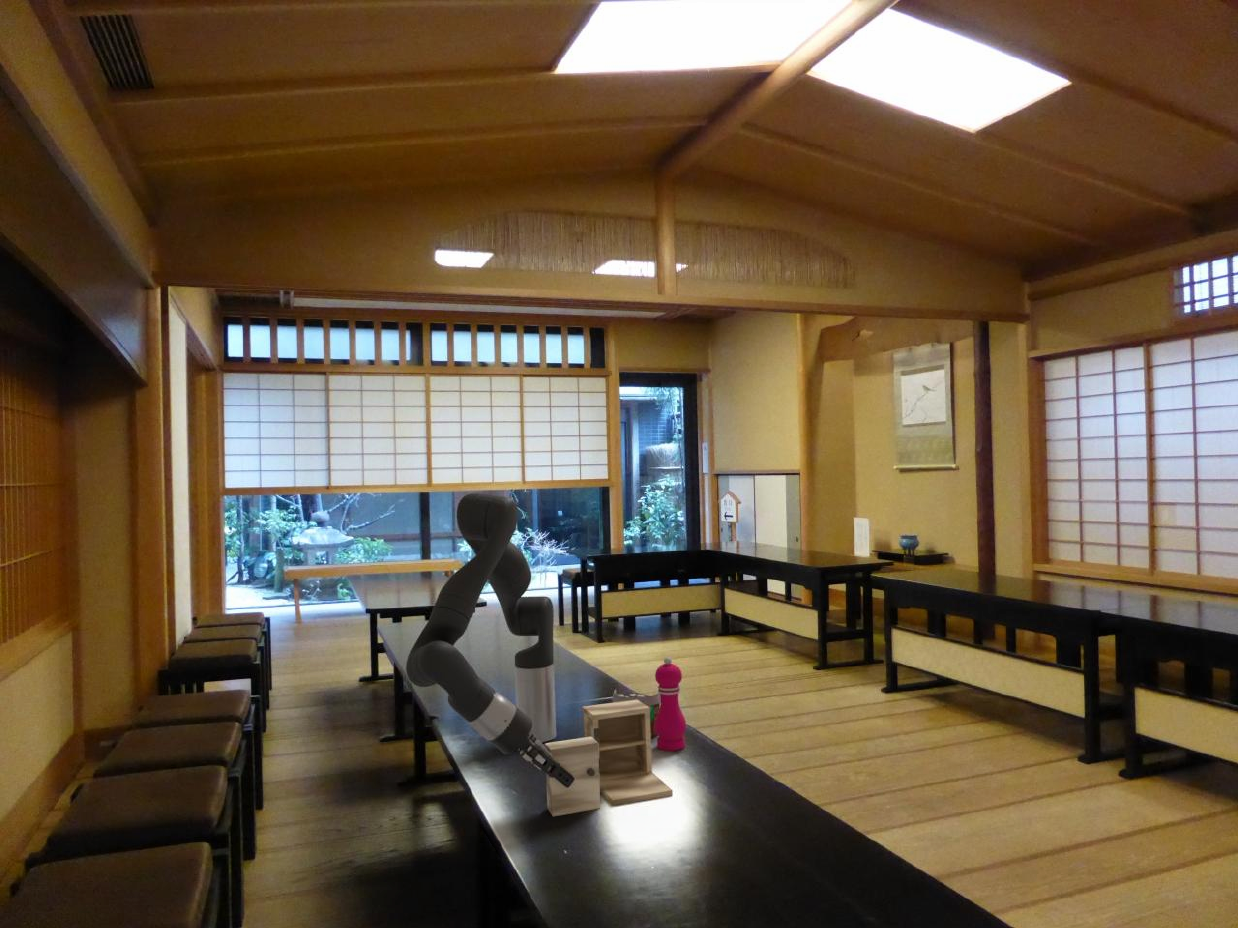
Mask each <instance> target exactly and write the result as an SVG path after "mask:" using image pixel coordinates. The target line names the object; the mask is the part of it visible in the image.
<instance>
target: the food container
mask: <svg viewBox="0 0 1238 928" xmlns="http://www.w3.org/2000/svg"><path fill="white" fill-rule="evenodd" d="M629 700H639V701H640V702H642V703H643V704H645V705H646V706H648V707H649V708H650V734H651V739H652V738H656V737H657V736H659V735H658V734H657V733H656V732H655V729H654V726H655V720H656V717H657V714H658V712H659V709H660V705H661V698H660V693H656V694H653V695H647V694H644V693H638V692H637V693H636V692H635V693H618V692H617V689H615V690H614V693H613V695H612V703H614V702H622V701H629Z"/></svg>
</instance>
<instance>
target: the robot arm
mask: <svg viewBox="0 0 1238 928" xmlns="http://www.w3.org/2000/svg"><path fill="white" fill-rule="evenodd" d="M518 509H519V508H518V505H517V502H516V501H515V500H514V499H513V498H512V497H508V496H504V495H497V494H489V493H482V492H473V493H471V492H470V493H468V494H464V496H462V497H461V499H460V500H459V502H458V504H457V507H456V523H457V528H458V529H459V532H460V534H461V535H462V537H463V539H464V540H465V542H466V543H467V545H468V546H469V547H470V549H471V550H472V551H473V553H474V556H473V557H472V558H471V559H470V560H469V561H468V562H467V563H465V564H464V565H463V566H462V567H461V568H459V569H458V570H457V571H456V572H454V573H453V575H451V576H450V577H449V578H448V579H447V581H445V583H444V585H443V586H442V588H441V589H440V592H439V594H438V596H437V598H436V601H435V603H434V606H433V608H432V611H431V613H430V616H429V619H428V621H427V622H426V624H425V626H424V627H423V629H422V630H421V632H420V634H419V635H418V637H417V639H416V640H415V642H414V644H413V646H412V647H411V649H410V651H409V654H408V657H407V661H406V667H405V671H406V672H405V673H406V676H407V677H408V680H409V681H410V682H411V683H412V685H414V686H416V687H418V688H419V687H420V688H428V687H432V686H434V685H438V686H439V687H441V688H442V689H443V690H444V692H445V693H446V694H447V703H448V704H449V706H450V707H451V708H452V710H453V711H455V712H456V713H458V715H459V716H461V717H462V718H463V719H464V720H465V721H467V722H468V723H469V724H470V725H471V726H472V727H473V729H474V730H475V731H477V733H479V734H480V735H481V736H482V737H483V738H485V739H486V741H488V742H490V744H492V745H493V747H495V748H496V749H498V750H499V751H500V752H501V753H502V754H503V755H510V754H512V753H514V752H515V751H516V750H517V752H519V754H520V755H521V757H522V758H523V759H524V760H525V761H527V762H530V763H531V764H533V766H534V767H536V768H537V769H538V770H540V771H543V772H544V773H545V774H546V773H547V774H548V776H549V777H552V778H553V777H554V778H555V779H557V780H558V781H559V782H560V783H561V784H563V785H564V786H565V787H566V788H568V787H569V786H570V785H571V784H572V783H573V781H574V777H573V776H572V775H571V774H570V773H569V772H567V771H566V770H565V769H564V768H563V767H561V765H560V763H559V762H556V761H555V760H554V759H553V758H552V753H550V751H548V750H547V749H546V747H545V744H543V743H546V742H548V741H550V742H551V741H552V740H554V739H556V737H557V717H556V716H557V714H556V689H555V688H556V686H555V663H554V661H555V660H554V656H555V655H554V654H555V653H554V623H555V622H554V620H555V619H554V614H555V613H554V612H555V611H554V604H553V601H552V599H551V598H550V597H549V596H543V595H542V596H524V594H525V593H526V591H528V589H529V587H530V584H531V583H532V582H531V580H532V572H531V567H530V566H529V563H528V561H527V558H526V556H525V554H524V552H523V551H522V550H521V549H520V548H519V547H518V546H517V545H516V544H515V543H513V542H511V540H512V538H513V536H514V534H515V531H516V529H517V528H516V527H517V524H518V518H519V510H518ZM487 582H489V584H490V587H491V588H492V590H493V592H494V593H495V596H496V598H497V600H498V602H499V604H500V607H501V611H502V613H503V618H504V620H505V622H506V626H507V628H508V630H509V632H510V633H511V634H512V635H513V636H517V637H537V638H538V640H537V642H536V643H534V645H531V646H530V647H527V648H524V649H522V650H519V651H517V652H516V653H515V655H514V677H515V678H514V679H515V704H516V705H515V704H513V702H512V701H510V700H509V699H508V698H506V696H504V695H502V694H501V693H499V692H498V691H496V690H495V689H494V688H493V687H492V686H490V684H488V682H487V681H485V680H484V679H482V678H480V677H479V676H478V675H477V673H476V671H475V670H474V668H473V666H472V665H471V664H470V663H469V661H468V660H467V659H466V658H465V656H464V655H463V653H462V652H461V651H460V650H459V649H458V648H457V647H456V646H455V644H456V643H457V642H458V641H459V640H460V638H461V637H463V636H464V634H465V633H466V631H467V629H468V627H469V624H470V621H471V620H472V617H473V614H474V612H475V608H476V605H477V603H478V601H479V598H480V595H481V594H482V592H483V590H484V587H485V586H486V584H487ZM546 753H547V754H546ZM552 764H554V765H553V766H552V768H551V769H550V770H548V768H549V767H550V766H551V765H552Z"/></svg>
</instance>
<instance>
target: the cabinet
mask: <svg viewBox="0 0 1238 928" xmlns="http://www.w3.org/2000/svg"><path fill="white" fill-rule="evenodd" d="M582 721H583V722H582V723H583V724H582V725H583V727H582V728H583V729H582V730H583V738H585V737H592V738H593V739H594V740H596V741H597V742H598V759H599V785H600V794H602V795H603V797H604V798H605V799H606V801H608V802H609V803H610V804H611V805H612V806H613V807H614V806H620V805H625V804H631V803H637V802H642V801H648V800H653V799H659V798H660V799H661V798H665V797H666V798H667V797H670V796H673V789H672V788H671V787H670V786H668V785H667V784H666V783H665V782H664V781H663V780H662V779H661V778H660V777H658V776H657V775H656V774H655V773H653V765H652V763H653V761H652V760H653V759H652V738H651V734H650V708H649V707H648V706H646V705H645V704H643V703H642V702H640V701H639V700H629V701H622V702H614V703H613V702H608V703H600V704H593V705H587V706H585V705H584V706H582Z"/></svg>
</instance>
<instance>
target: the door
mask: <svg viewBox="0 0 1238 928" xmlns="http://www.w3.org/2000/svg"><path fill="white" fill-rule="evenodd" d="M544 746H545V747H546V749H547V750H548V751H550V753H552V758H553V759H554V760H555V761H556V762H559V763H560V765H561V767H563V768H564V769H565V770H566V771H567V772H569V773H570V774H571V775H572V776H573V777H574V781H573V783H572V784H571V785H570V786H569V787H568V788H566V787H565V786H564V785H563V784H561V783H560V782H559V781H558V780H557V779H555V778H554V777H553V778H552V777H549V776H548V774H547V773H545V776H546V802H547V803H546V806H547V810H548V811H549V813H550V814H551V816H552V817H558V816H563V815H570V814H575V813H580V812H586V811H592V810H596V809H601V792H600V785H599V759H598V742H597V741H596V740H594V739H593V738H592V737H585V738H584V737H579V738H572V739H566V740H559V741H552V742H551V741H550V742H547V743H546V742H544ZM546 754H547V753H546ZM553 765H554V764H552V765H551V766H550V767H549V768H548V770H550V769H551V768H552V766H553Z"/></svg>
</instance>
